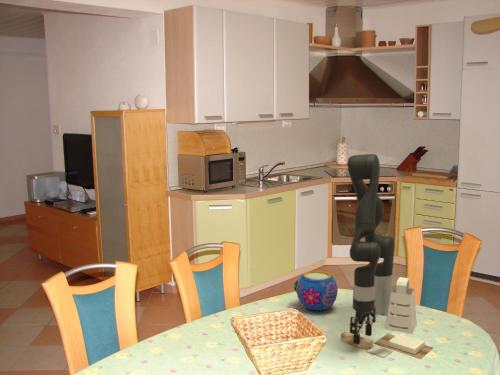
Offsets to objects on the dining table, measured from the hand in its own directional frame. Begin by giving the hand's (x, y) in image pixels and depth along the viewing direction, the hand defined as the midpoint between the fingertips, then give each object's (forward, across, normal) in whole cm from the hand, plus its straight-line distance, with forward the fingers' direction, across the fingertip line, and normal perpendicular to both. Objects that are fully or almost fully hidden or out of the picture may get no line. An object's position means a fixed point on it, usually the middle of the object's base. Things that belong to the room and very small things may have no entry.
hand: (362, 339), depth 190 cm
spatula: (+3, 0, +1) cm, 3 cm away
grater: (+4, -25, +3) cm, 25 cm away
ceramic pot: (+4, -21, -34) cm, 40 cm away
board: (+4, -10, +11) cm, 15 cm away
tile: (+2, -10, +7) cm, 12 cm away
